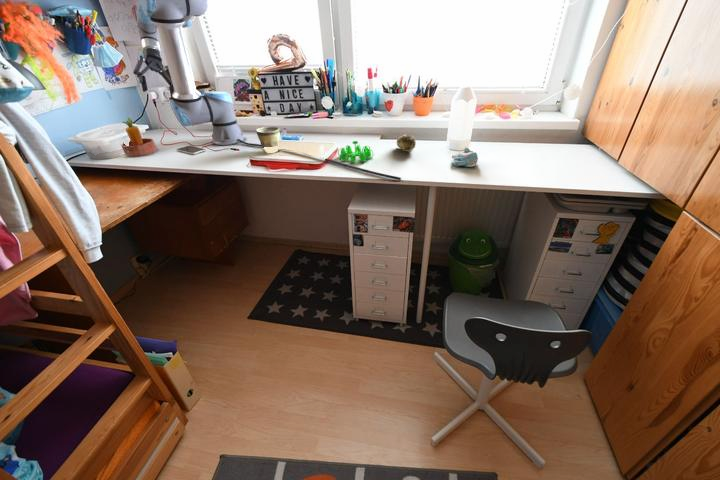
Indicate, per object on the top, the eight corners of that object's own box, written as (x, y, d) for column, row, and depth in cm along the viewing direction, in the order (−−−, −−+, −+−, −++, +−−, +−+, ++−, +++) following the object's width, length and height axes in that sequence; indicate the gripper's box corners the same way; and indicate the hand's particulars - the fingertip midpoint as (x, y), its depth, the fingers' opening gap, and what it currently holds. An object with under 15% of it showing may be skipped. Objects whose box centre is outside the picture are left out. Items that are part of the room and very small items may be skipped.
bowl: (162, 150, 154) (158, 140, 151) (134, 159, 145) (129, 148, 142) (148, 146, 160) (144, 136, 158) (120, 154, 151) (115, 143, 149)
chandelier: (376, 153, 141) (376, 137, 137) (370, 165, 128) (369, 148, 125) (342, 152, 143) (342, 136, 140) (333, 163, 131) (332, 147, 127)
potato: (415, 147, 146) (416, 129, 142) (415, 156, 135) (416, 137, 131) (396, 147, 147) (397, 129, 143) (395, 156, 136) (395, 137, 132)
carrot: (141, 153, 150) (128, 119, 142) (132, 152, 151) (118, 119, 143) (149, 149, 154) (136, 117, 146) (140, 149, 155) (127, 117, 147)
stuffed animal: (465, 143, 130) (486, 146, 119) (465, 161, 133) (486, 165, 122) (443, 148, 126) (463, 150, 116) (443, 166, 129) (463, 170, 119)
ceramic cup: (280, 154, 143) (276, 132, 138) (258, 155, 143) (253, 132, 138) (286, 146, 154) (282, 124, 148) (265, 146, 154) (261, 125, 149)
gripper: (172, 64, 170) (179, 104, 170) (119, 44, 148) (127, 89, 148) (180, 58, 166) (188, 99, 166) (127, 36, 144) (136, 83, 145)
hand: (160, 95), depth 157 cm, fingers open, 13 cm apart
